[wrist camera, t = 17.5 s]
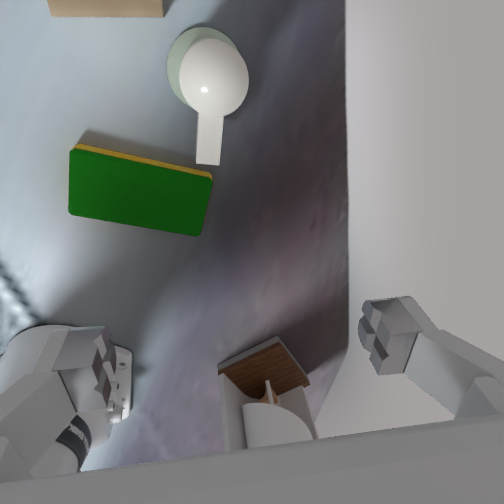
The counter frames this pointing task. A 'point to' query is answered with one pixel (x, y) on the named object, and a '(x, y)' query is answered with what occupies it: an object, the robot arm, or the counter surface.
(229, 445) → the spiral staircase model
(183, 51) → the trivet
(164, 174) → the dish sponge
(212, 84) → the jug
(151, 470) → the robot arm
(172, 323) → the counter surface
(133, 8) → the square wooden frame
